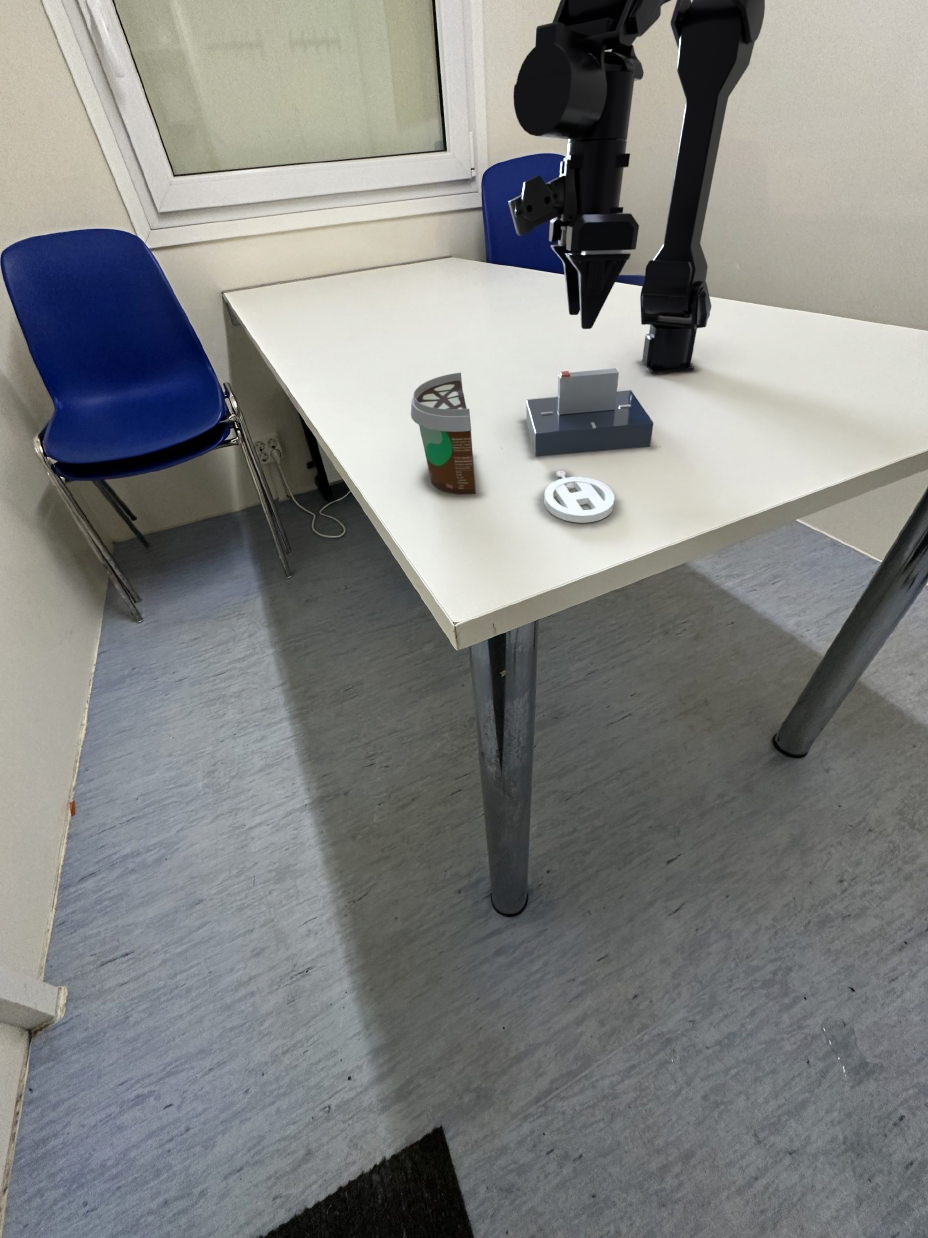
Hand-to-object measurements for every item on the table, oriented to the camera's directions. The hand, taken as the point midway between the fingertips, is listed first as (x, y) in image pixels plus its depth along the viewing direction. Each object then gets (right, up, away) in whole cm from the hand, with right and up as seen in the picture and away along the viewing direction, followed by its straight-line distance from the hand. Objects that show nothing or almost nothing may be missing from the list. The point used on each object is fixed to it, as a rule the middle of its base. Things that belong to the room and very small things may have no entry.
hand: (579, 321), depth 63 cm
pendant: (-1, -21, -4) cm, 22 cm away
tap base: (+2, -10, +8) cm, 13 cm away
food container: (-15, -18, +2) cm, 24 cm away
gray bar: (+2, -8, +6) cm, 10 cm away
